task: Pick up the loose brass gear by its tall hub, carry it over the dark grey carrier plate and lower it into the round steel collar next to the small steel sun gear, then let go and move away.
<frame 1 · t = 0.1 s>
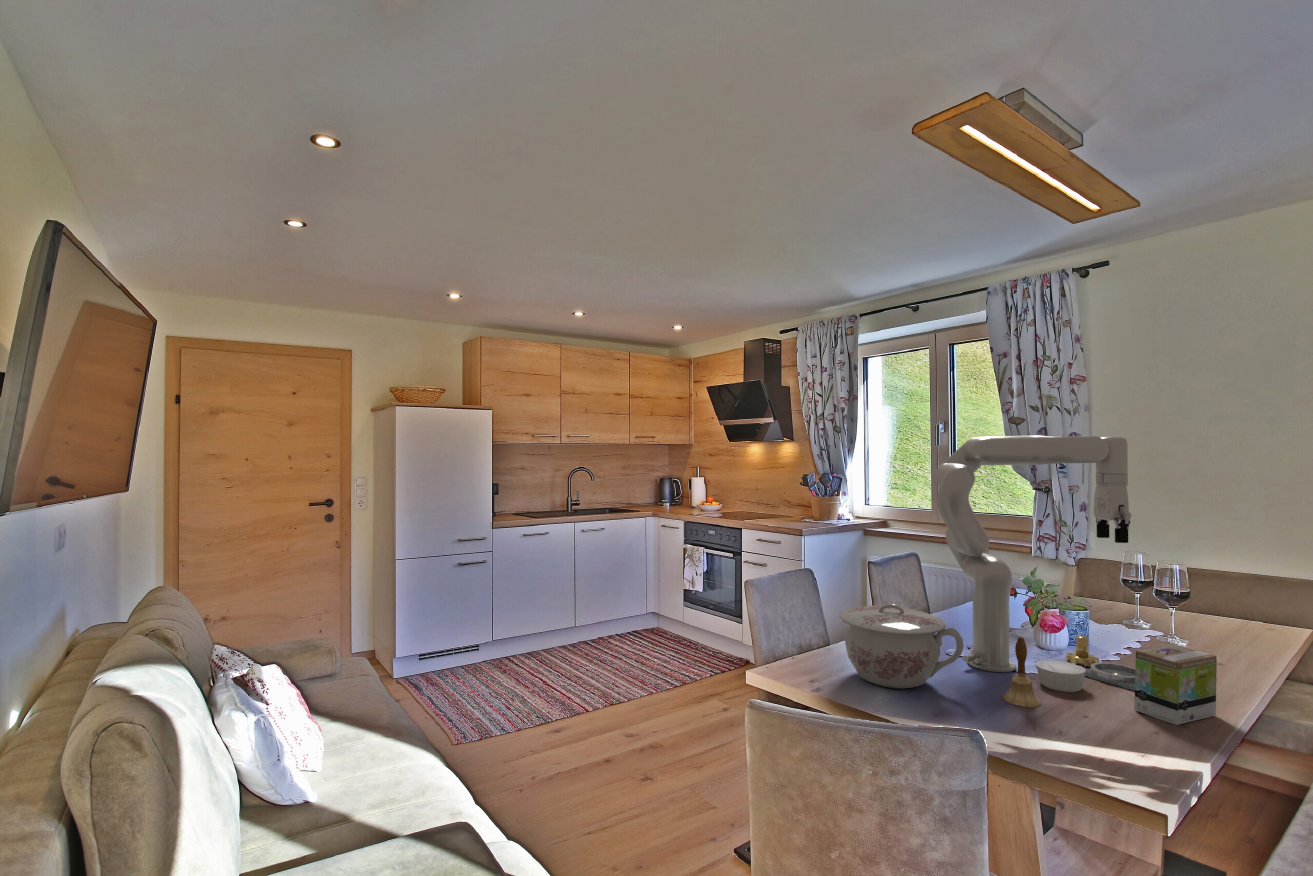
hand: (1112, 540, 187), 37 cm above the table, tool pointing down, fingers open, 9 cm apart
carrier: (1126, 681, 179), on the table
chamber pot: (892, 681, 179), on the table
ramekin: (1060, 687, 175), on the table
hand bell: (1021, 702, 165), on the table
planet gear: (1082, 662, 194), on the table
tea box: (1175, 714, 157), on the table
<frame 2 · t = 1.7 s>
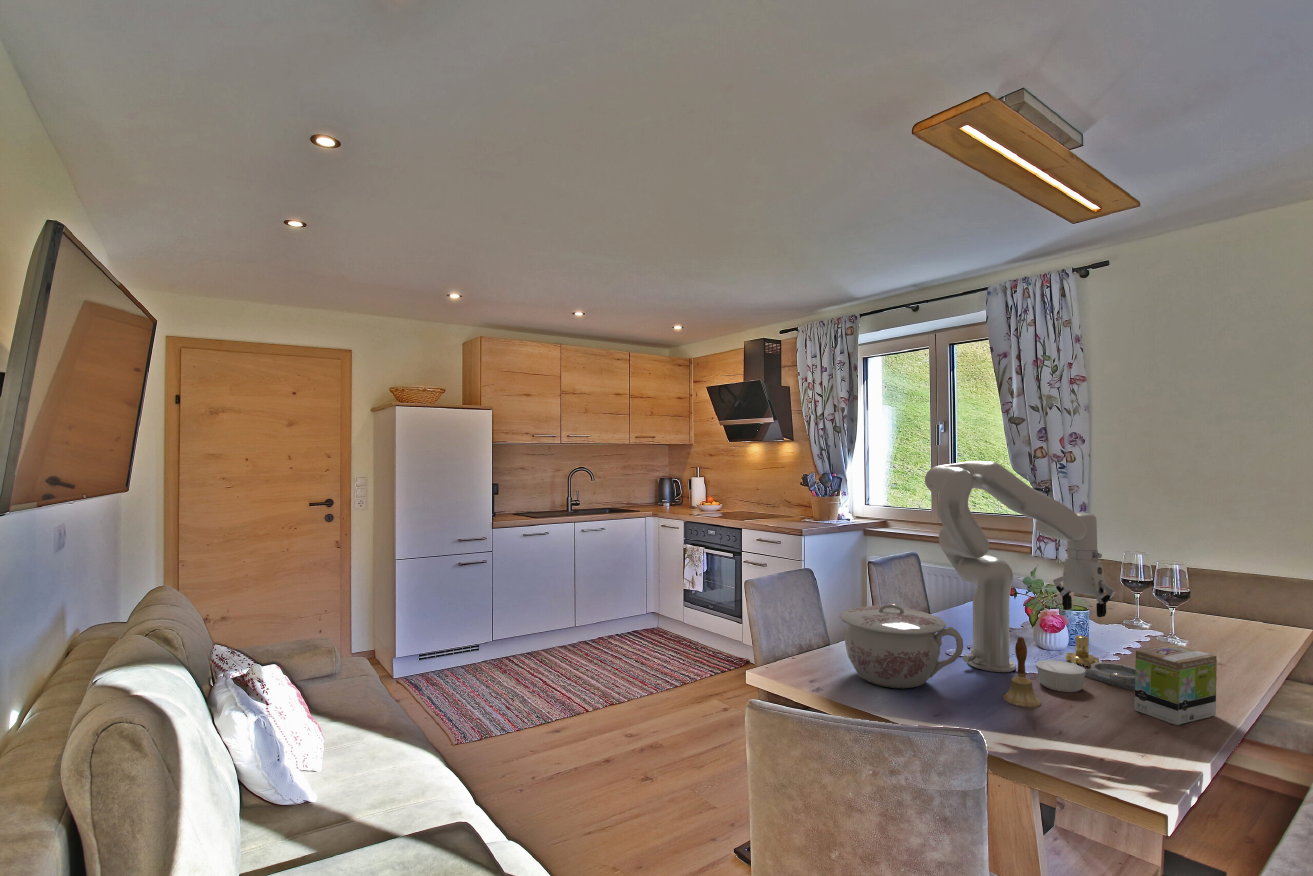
hand: (1083, 612, 195), 15 cm above the table, tool pointing down, fingers open, 9 cm apart
nothing on the table moved.
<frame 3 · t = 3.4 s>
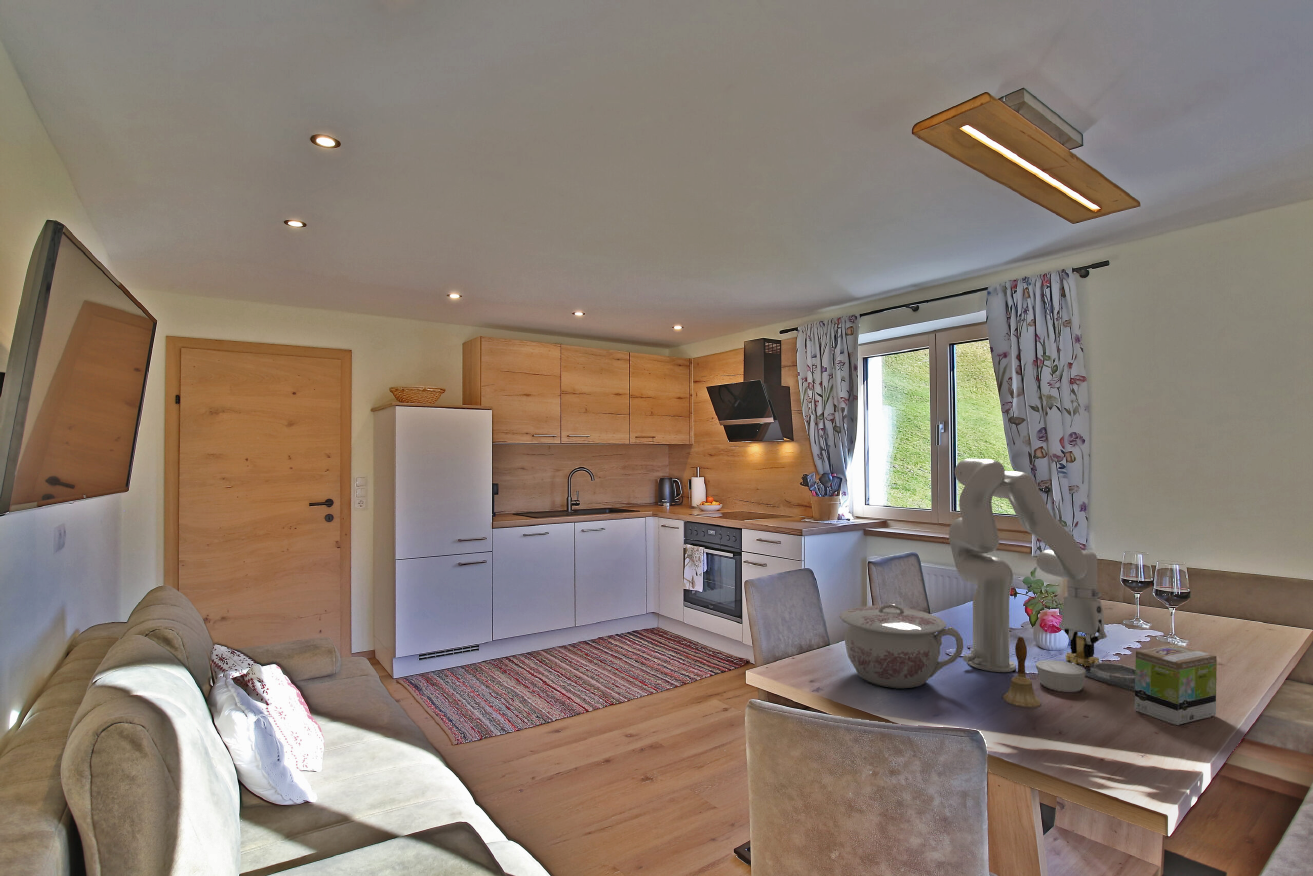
hand: (1082, 654, 194), 2 cm above the table, tool pointing down, fingers closed on planet gear, 3 cm apart
planet gear: (1082, 662, 194), on the table, touching gripper
everything else where it was.
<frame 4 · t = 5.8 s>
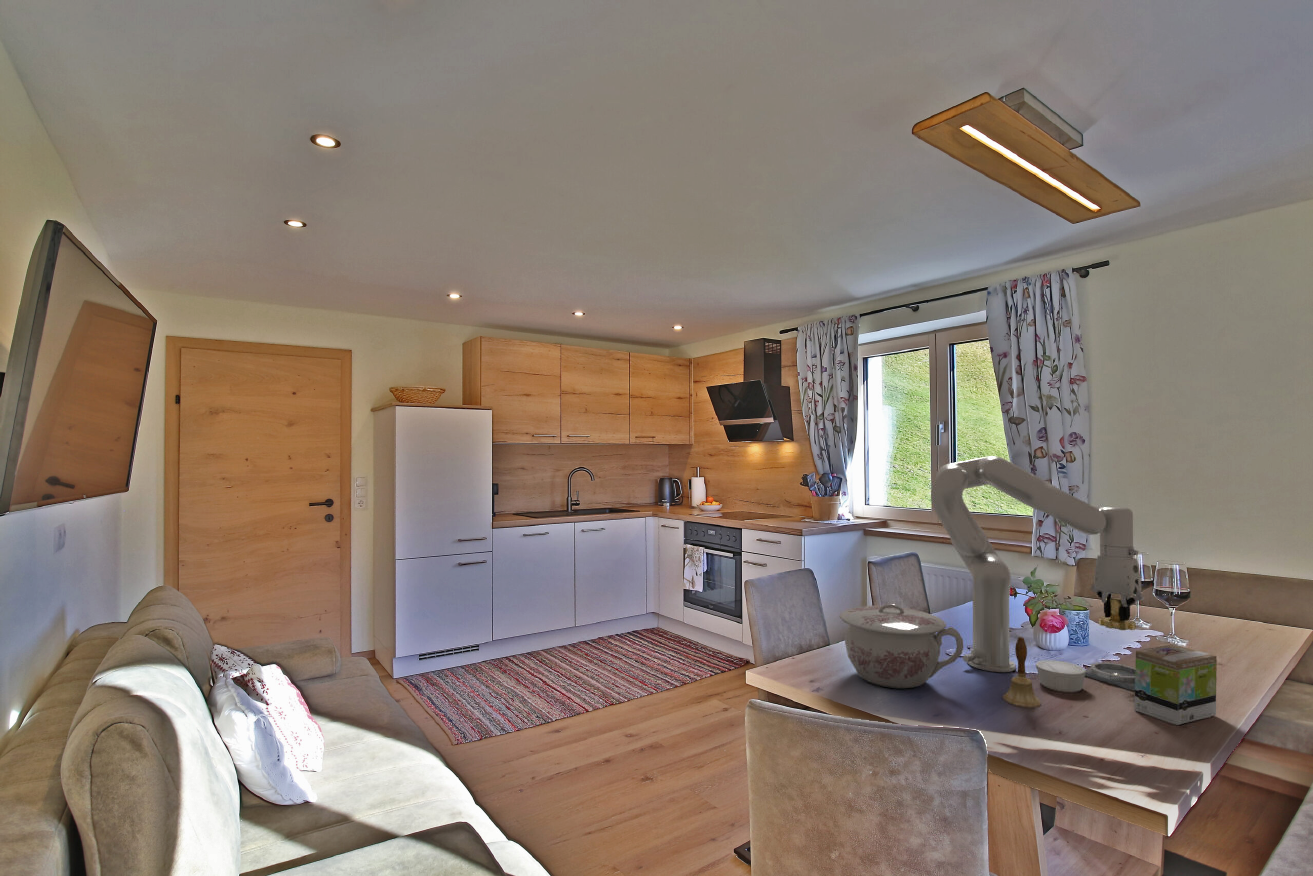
hand: (1116, 618, 181), 17 cm above the table, tool pointing down, fingers closed on planet gear, 3 cm apart
planet gear: (1117, 626, 181), point 14 cm above the table, touching gripper
everything else where it was.
when the fingers open (5 cm above the table, at t = 8.1 s): planet gear drops 1 cm, resting on carrier.
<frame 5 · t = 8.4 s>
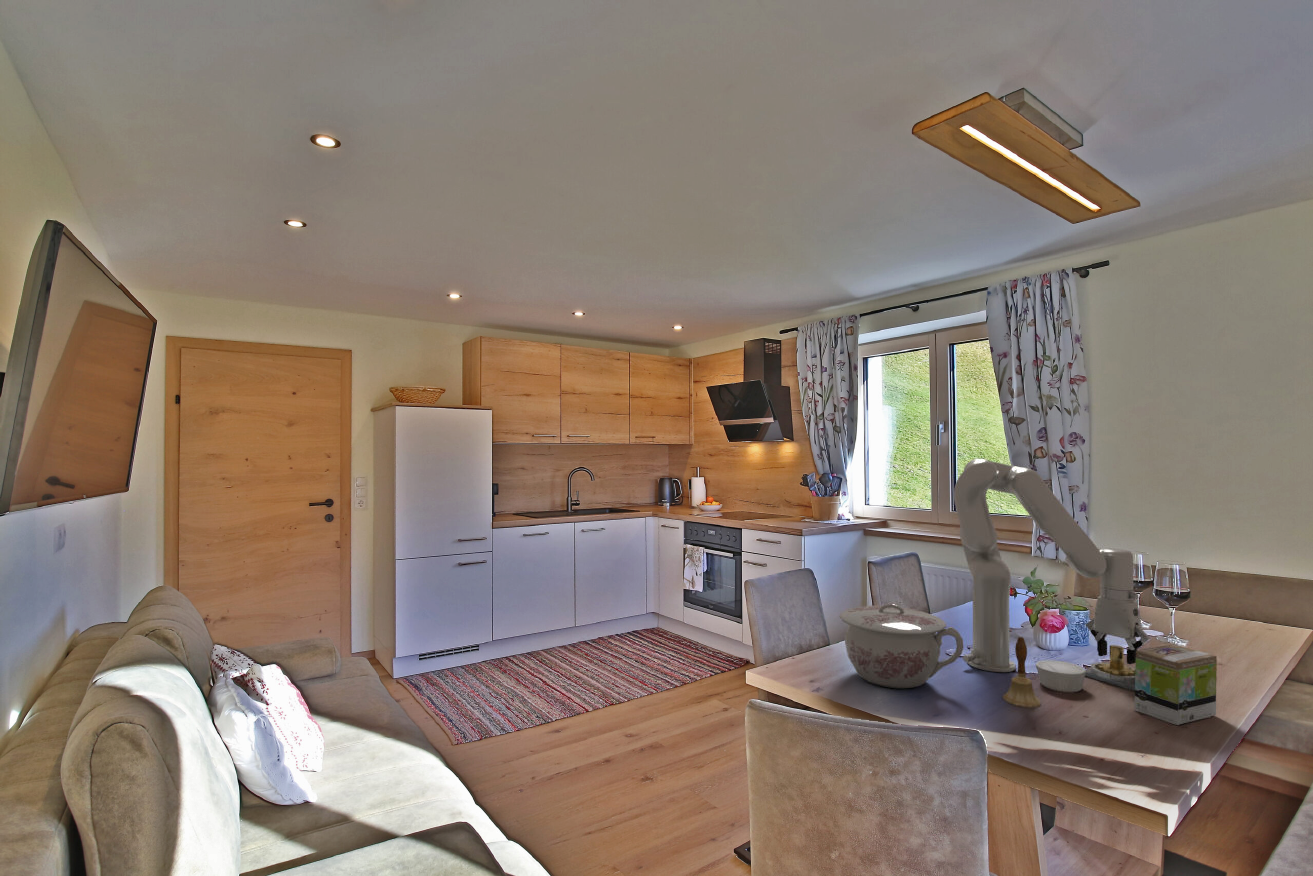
hand: (1116, 658, 181), 5 cm above the table, tool pointing down, fingers open, 6 cm apart
planet gear: (1116, 673, 181), point 1 cm above the table, touching carrier
everything else where it was.
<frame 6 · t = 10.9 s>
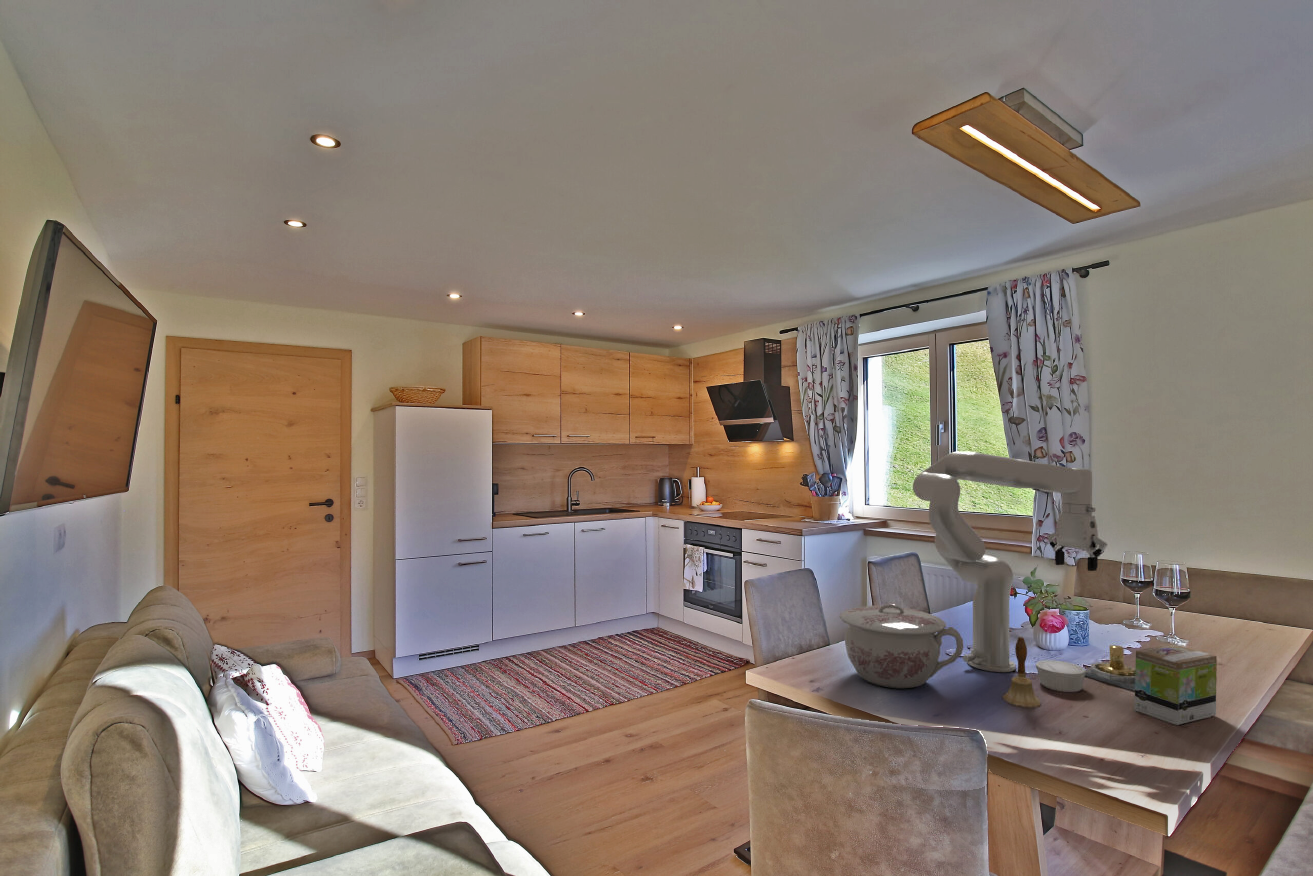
hand: (1075, 567, 195), 28 cm above the table, tool pointing down, fingers open, 9 cm apart
nothing on the table moved.
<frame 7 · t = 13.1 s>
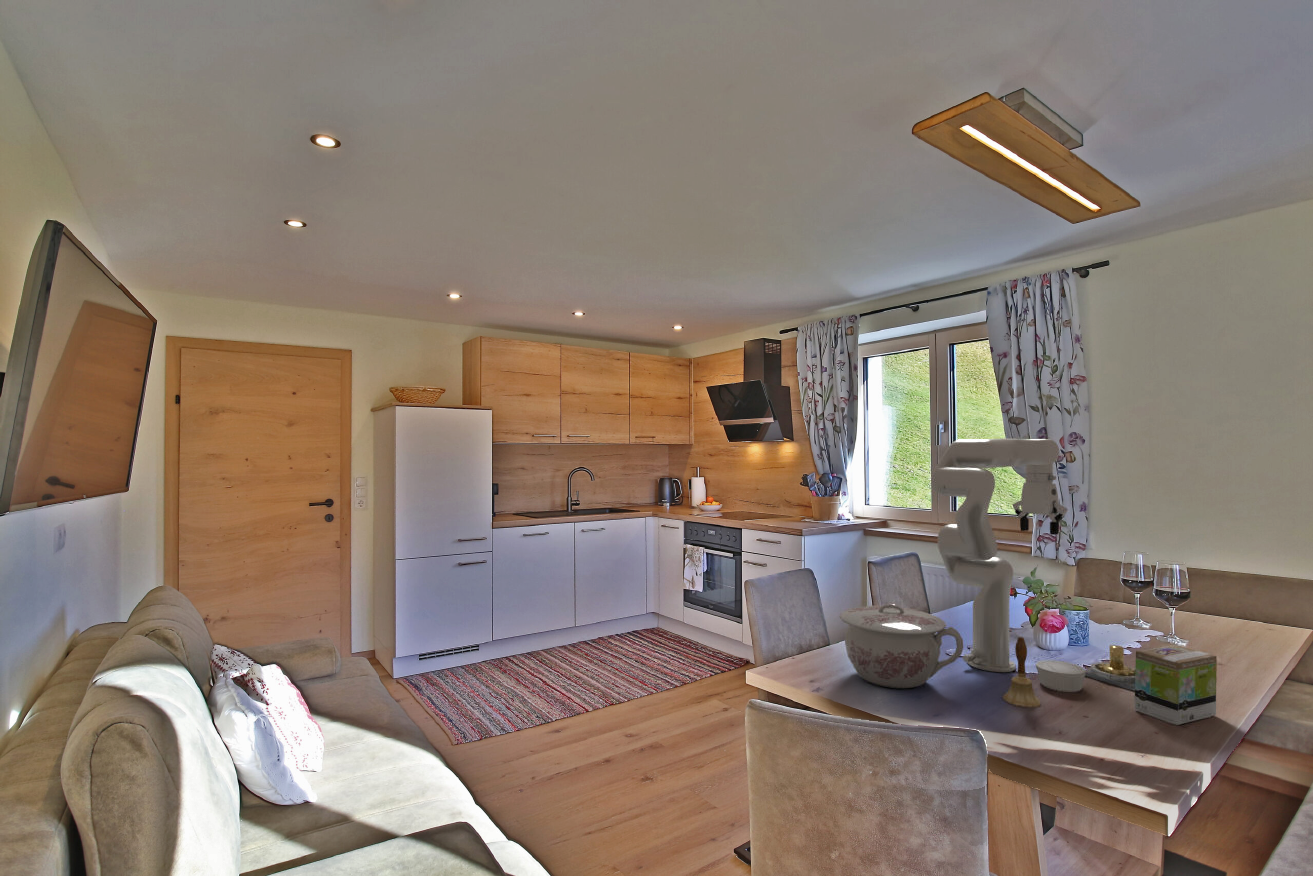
hand: (1039, 532, 209), 36 cm above the table, tool pointing down, fingers open, 9 cm apart
nothing on the table moved.
at the end: planet gear 0.1 cm from the target spot on the carrier, point 1.2 cm above the carrier's base; planet gear tilted 0°; the gripper is holding nothing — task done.
